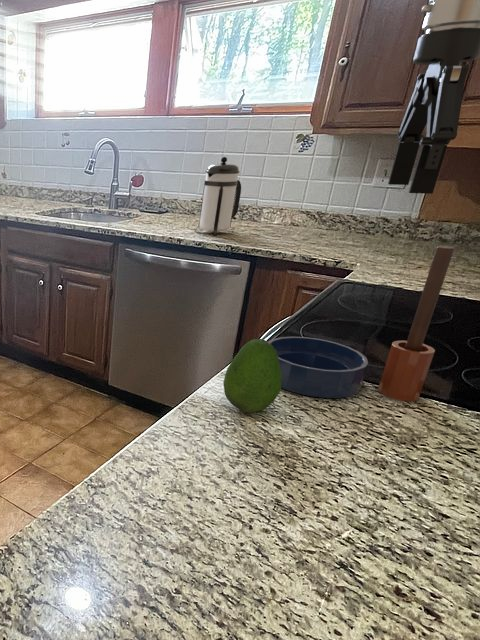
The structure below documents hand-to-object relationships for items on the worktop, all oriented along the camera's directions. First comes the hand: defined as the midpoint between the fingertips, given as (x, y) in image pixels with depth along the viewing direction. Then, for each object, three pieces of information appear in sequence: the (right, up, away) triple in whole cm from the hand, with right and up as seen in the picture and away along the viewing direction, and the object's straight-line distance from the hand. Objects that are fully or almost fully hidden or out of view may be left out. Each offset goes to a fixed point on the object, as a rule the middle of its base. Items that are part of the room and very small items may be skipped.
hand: (408, 188), depth 82 cm
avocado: (-25, -35, +1) cm, 43 cm away
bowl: (-10, -31, +9) cm, 34 cm away
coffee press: (+27, +27, +140) cm, 145 cm away
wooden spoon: (+1, -32, +3) cm, 33 cm away
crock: (+1, -33, +4) cm, 33 cm away
